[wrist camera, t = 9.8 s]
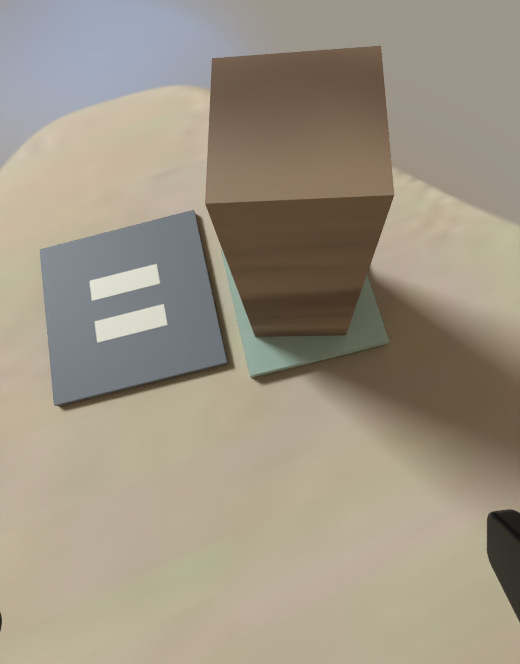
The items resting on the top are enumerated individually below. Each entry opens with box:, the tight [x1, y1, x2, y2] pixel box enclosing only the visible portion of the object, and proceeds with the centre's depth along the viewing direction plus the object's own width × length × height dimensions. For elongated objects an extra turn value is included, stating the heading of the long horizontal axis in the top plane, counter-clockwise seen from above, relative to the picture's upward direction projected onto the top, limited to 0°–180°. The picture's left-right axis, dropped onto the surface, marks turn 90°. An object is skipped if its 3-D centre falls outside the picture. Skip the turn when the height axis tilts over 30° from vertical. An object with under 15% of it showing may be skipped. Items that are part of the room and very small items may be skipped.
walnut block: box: [205, 46, 394, 337], centre depth 17 cm, size 4×4×12 cm
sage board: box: [221, 250, 389, 378], centre depth 23 cm, size 7×7×1 cm
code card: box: [40, 210, 228, 406], centre depth 24 cm, size 9×9×1 cm
